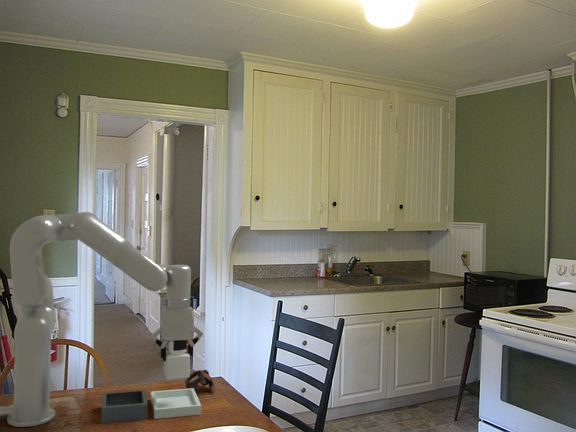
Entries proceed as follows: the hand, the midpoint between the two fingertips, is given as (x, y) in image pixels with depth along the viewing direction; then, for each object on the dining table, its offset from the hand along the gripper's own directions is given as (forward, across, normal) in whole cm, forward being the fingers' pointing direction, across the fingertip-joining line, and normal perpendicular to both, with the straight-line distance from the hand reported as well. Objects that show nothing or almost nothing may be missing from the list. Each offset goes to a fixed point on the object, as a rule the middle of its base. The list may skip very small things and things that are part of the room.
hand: (176, 358), depth 163 cm
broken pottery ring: (+16, +10, +13) cm, 23 cm away
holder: (+15, -16, -1) cm, 22 cm away
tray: (+15, 0, 0) cm, 15 cm away
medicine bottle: (+6, 0, 0) cm, 6 cm away
